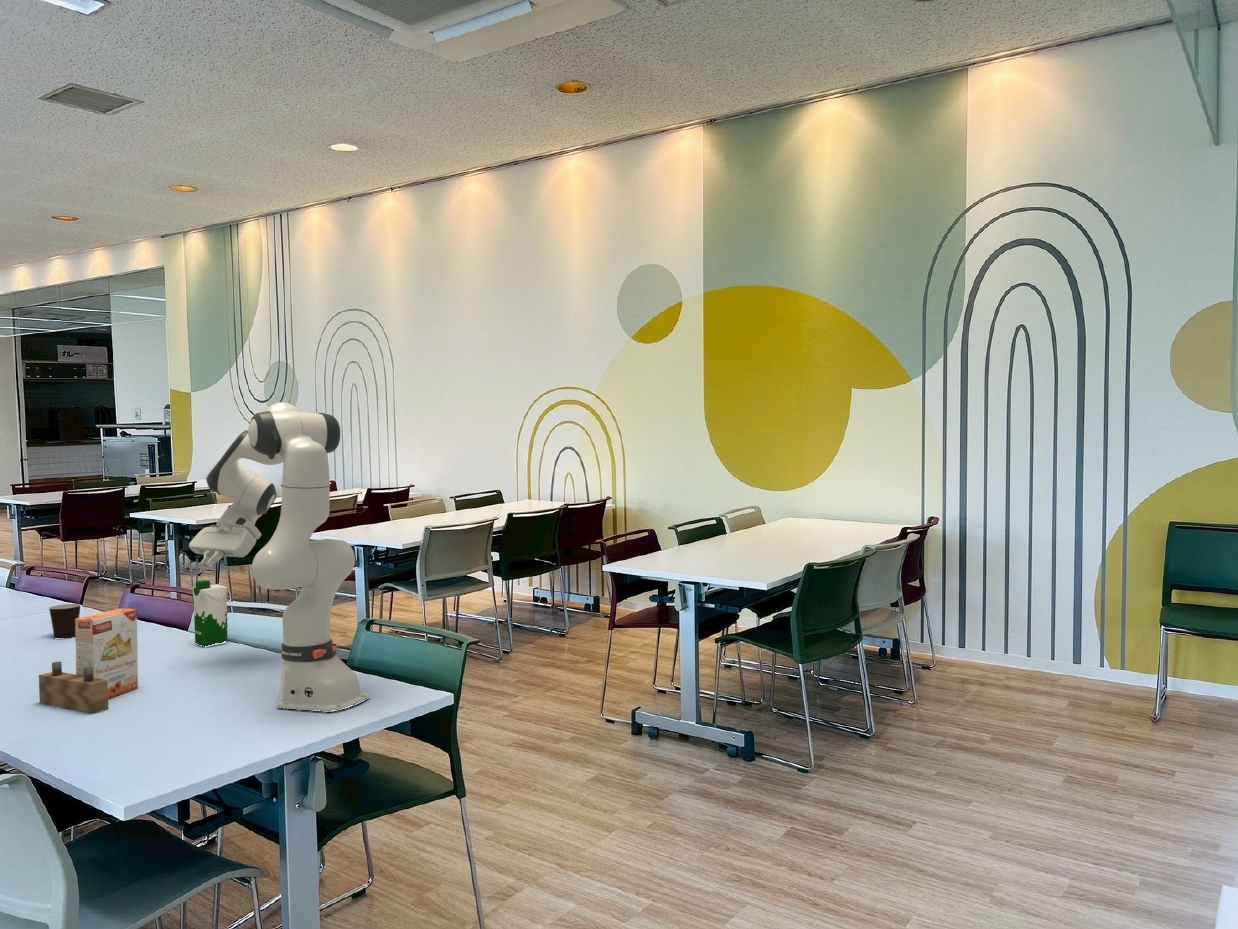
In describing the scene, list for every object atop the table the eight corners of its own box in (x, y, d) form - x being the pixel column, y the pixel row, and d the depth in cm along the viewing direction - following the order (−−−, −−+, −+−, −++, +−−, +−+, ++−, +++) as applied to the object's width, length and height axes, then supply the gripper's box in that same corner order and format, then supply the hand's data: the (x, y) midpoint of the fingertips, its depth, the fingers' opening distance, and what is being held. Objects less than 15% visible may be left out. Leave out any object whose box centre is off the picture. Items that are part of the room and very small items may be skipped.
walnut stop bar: (108, 709, 214) (107, 667, 213) (92, 714, 210) (90, 672, 210) (56, 698, 222) (54, 659, 222) (39, 703, 219) (38, 662, 218)
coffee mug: (70, 640, 285) (69, 609, 285) (44, 640, 285) (43, 609, 285) (92, 631, 297) (91, 601, 296) (67, 631, 297) (66, 602, 296)
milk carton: (191, 644, 278) (189, 580, 277) (220, 639, 284) (218, 577, 283) (202, 649, 272) (200, 583, 271) (232, 643, 278) (230, 580, 277)
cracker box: (95, 704, 217) (92, 619, 216) (75, 703, 219) (72, 618, 218) (140, 688, 231) (137, 608, 230) (121, 686, 232) (118, 607, 231)
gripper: (201, 518, 256) (172, 556, 248) (253, 520, 247) (224, 560, 239) (215, 531, 260) (186, 570, 252) (266, 535, 251) (238, 574, 243)
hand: (205, 565), depth 245 cm, fingers closed
